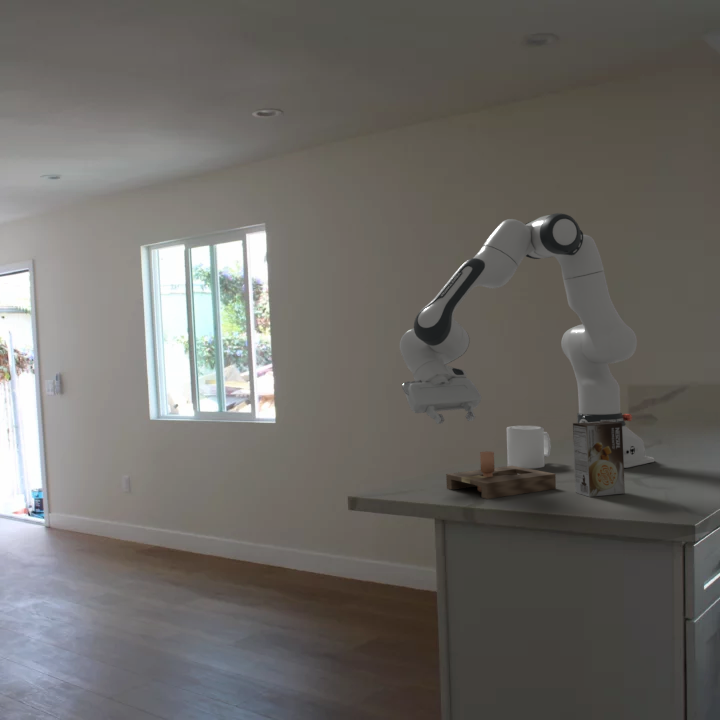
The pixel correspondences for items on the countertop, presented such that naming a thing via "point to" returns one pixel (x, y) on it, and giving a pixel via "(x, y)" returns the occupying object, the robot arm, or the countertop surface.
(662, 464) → the countertop surface
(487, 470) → the peg
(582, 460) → the coffee box
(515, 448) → the mug
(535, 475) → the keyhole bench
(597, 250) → the robot arm
